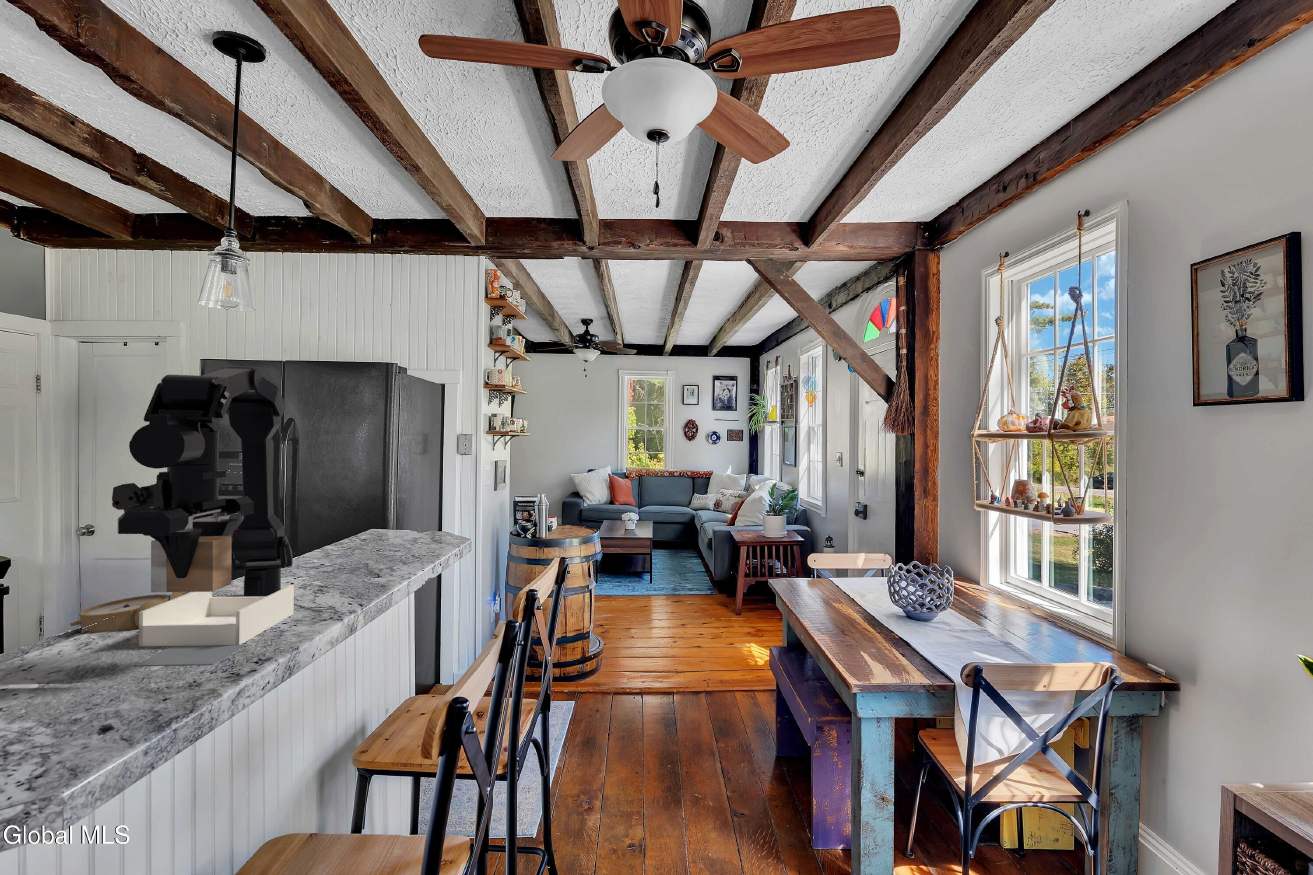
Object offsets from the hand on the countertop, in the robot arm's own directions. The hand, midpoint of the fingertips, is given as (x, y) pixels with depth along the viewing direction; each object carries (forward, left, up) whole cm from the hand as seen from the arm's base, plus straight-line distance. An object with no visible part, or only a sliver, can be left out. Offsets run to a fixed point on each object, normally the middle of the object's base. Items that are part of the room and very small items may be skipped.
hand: (192, 573), depth 82 cm
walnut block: (0, 0, -2) cm, 2 cm away
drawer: (-11, -3, -12) cm, 17 cm away
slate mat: (0, 0, -12) cm, 12 cm away
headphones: (-16, -19, -13) cm, 28 cm away
